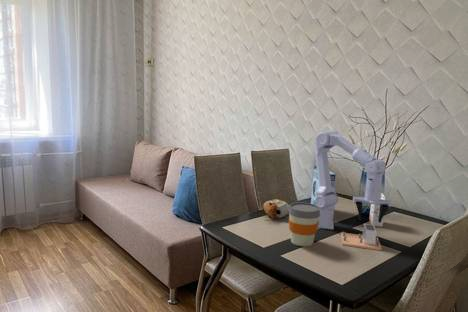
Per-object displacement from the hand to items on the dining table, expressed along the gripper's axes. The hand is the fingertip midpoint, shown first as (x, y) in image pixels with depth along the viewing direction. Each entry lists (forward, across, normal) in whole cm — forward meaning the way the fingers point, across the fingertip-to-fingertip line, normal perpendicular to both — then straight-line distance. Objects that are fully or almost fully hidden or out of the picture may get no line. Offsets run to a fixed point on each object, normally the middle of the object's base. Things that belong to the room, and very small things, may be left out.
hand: (369, 220), depth 142 cm
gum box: (+10, -20, +32) cm, 39 cm away
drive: (+8, 0, -1) cm, 9 cm away
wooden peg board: (+9, -3, -1) cm, 10 cm away
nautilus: (+10, -42, +17) cm, 47 cm away
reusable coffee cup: (+10, -26, -9) cm, 30 cm away
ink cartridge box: (+10, +6, +25) cm, 28 cm away
